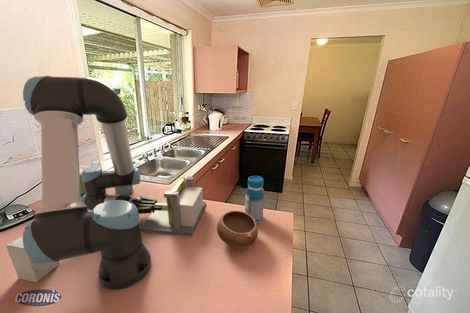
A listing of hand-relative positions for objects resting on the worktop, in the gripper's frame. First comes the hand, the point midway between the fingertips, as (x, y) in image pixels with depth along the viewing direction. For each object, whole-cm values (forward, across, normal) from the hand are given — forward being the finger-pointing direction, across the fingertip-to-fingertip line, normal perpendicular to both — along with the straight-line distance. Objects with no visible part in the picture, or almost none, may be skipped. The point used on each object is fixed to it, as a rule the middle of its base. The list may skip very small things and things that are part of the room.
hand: (170, 207), depth 92 cm
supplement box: (-31, +30, -7) cm, 44 cm away
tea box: (-55, -14, -7) cm, 57 cm away
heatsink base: (+2, -4, -7) cm, 8 cm away
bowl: (+30, +8, -7) cm, 32 cm away
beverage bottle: (+36, -7, -7) cm, 37 cm away
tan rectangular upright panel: (+2, -5, -5) cm, 7 cm away
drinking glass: (-36, -23, -7) cm, 43 cm away
